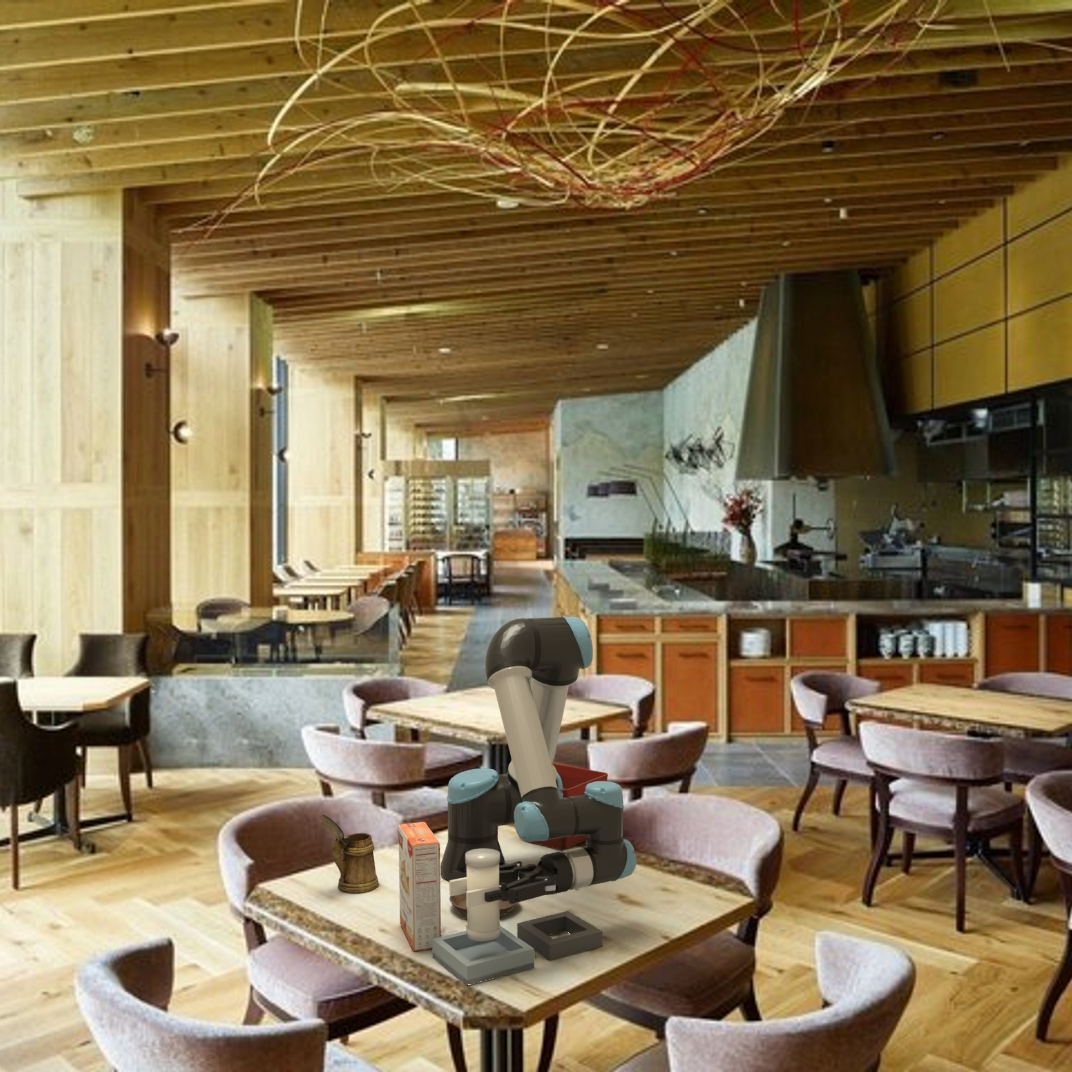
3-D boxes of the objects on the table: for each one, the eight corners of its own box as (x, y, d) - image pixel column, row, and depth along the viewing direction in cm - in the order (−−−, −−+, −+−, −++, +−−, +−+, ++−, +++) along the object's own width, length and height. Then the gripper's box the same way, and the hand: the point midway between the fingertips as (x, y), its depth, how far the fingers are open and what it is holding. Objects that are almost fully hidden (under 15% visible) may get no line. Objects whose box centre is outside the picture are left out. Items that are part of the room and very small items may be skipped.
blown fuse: (460, 932, 194) (459, 852, 193) (490, 924, 197) (489, 846, 197) (476, 943, 188) (475, 861, 188) (507, 936, 192) (506, 855, 191)
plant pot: (566, 857, 252) (566, 788, 251) (505, 842, 263) (505, 776, 263) (610, 837, 267) (609, 772, 267) (550, 824, 279) (550, 762, 278)
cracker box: (397, 925, 211) (397, 823, 210) (426, 921, 213) (426, 820, 212) (411, 953, 198) (410, 844, 197) (442, 948, 199) (441, 841, 199)
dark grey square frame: (517, 938, 204) (517, 923, 204) (567, 925, 210) (568, 910, 210) (549, 960, 194) (549, 944, 194) (602, 946, 200) (602, 931, 200)
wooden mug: (312, 891, 230) (312, 810, 230) (364, 876, 239) (364, 798, 239) (333, 902, 224) (333, 819, 223) (386, 886, 233) (385, 807, 232)
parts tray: (432, 957, 196) (432, 938, 196) (496, 940, 203) (496, 923, 203) (467, 986, 184) (466, 966, 184) (534, 967, 191) (534, 948, 191)
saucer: (513, 894, 228) (513, 882, 228) (524, 920, 214) (524, 907, 214) (446, 899, 226) (446, 886, 226) (452, 925, 211) (452, 912, 211)
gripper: (592, 905, 194) (483, 931, 182) (538, 876, 210) (435, 898, 198) (592, 865, 194) (483, 889, 182) (538, 839, 210) (435, 859, 198)
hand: (458, 893), depth 190 cm, fingers closed on blown fuse, 6 cm apart
